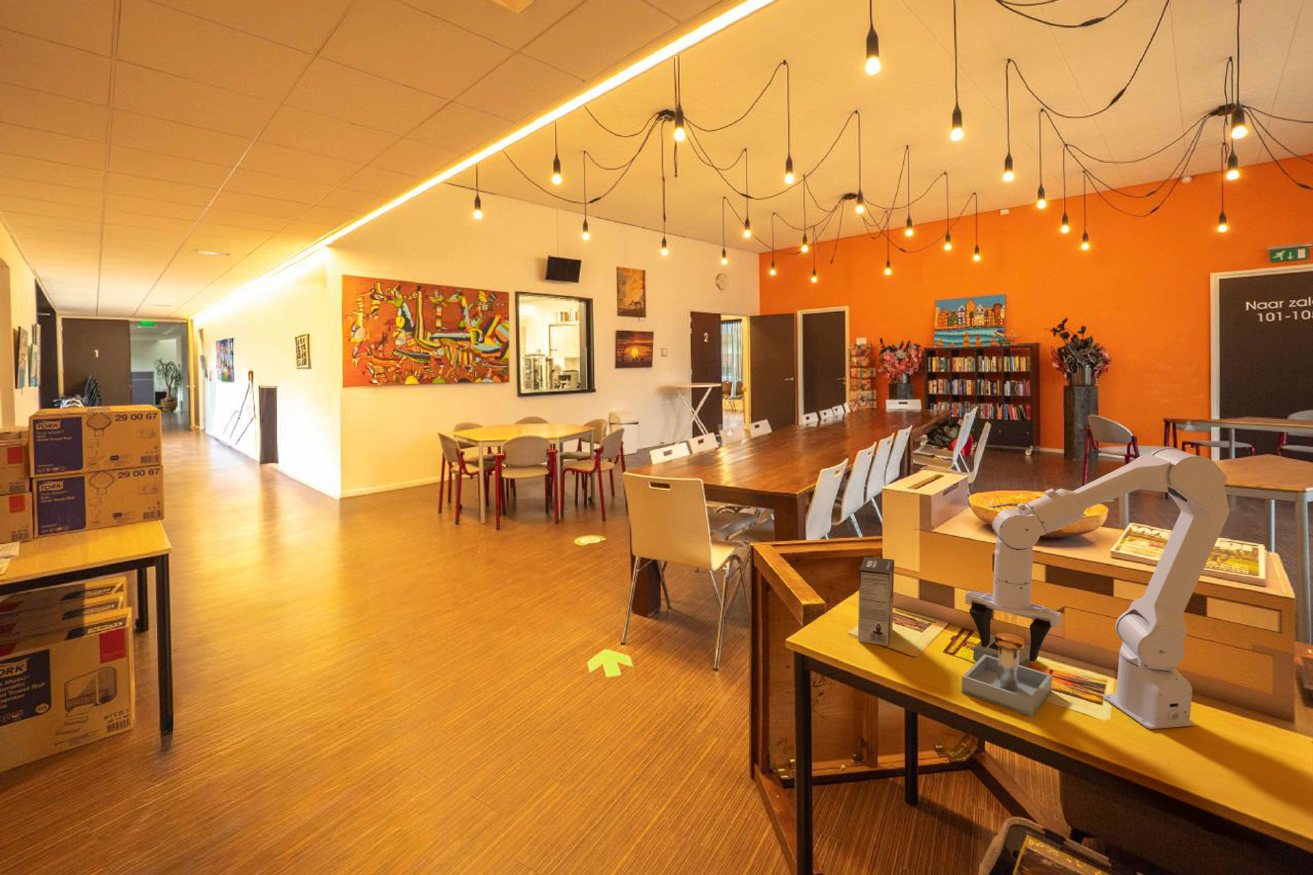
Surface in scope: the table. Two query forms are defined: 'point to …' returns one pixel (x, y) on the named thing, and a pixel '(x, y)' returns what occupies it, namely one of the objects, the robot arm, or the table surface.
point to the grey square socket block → (994, 652)
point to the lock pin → (1008, 660)
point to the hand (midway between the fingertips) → (1008, 652)
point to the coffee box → (876, 600)
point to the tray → (1023, 700)
